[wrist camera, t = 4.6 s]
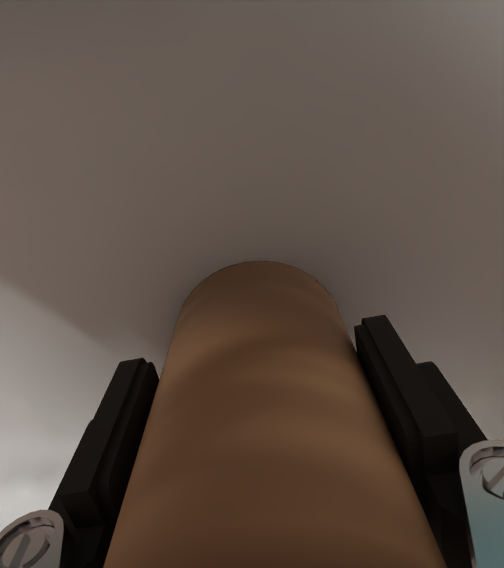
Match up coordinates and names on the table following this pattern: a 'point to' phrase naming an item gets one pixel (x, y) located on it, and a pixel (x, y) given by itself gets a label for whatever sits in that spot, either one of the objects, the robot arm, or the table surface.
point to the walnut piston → (267, 441)
